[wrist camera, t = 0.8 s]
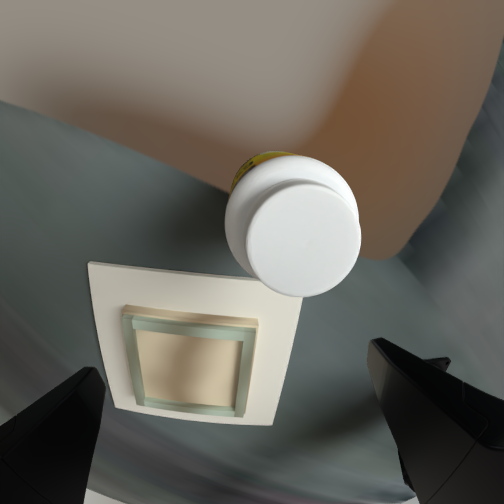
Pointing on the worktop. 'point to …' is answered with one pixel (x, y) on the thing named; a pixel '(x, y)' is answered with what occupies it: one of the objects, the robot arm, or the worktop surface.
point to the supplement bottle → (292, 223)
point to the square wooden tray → (190, 360)
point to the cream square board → (196, 301)
